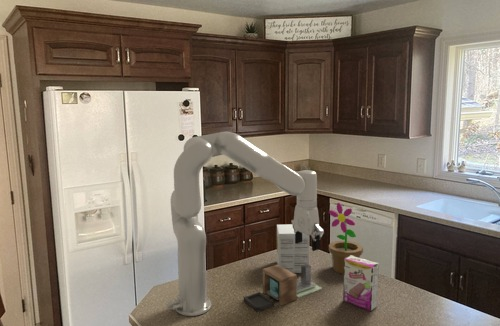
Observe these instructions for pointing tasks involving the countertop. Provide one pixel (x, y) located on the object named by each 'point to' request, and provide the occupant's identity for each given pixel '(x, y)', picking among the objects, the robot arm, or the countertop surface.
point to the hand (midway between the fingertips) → (307, 246)
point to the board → (308, 291)
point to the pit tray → (258, 301)
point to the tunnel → (281, 283)
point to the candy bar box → (360, 282)
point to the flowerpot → (343, 248)
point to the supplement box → (291, 249)
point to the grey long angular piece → (301, 284)
